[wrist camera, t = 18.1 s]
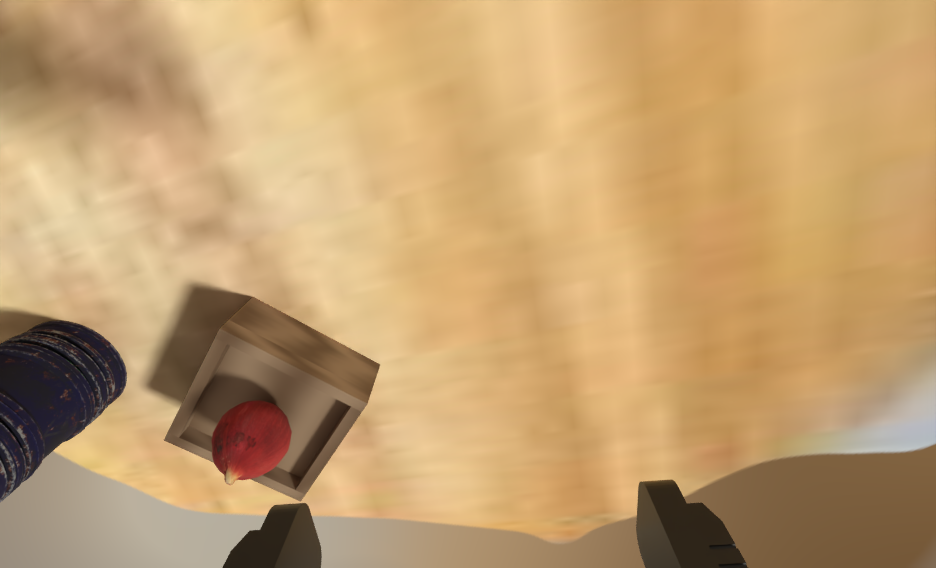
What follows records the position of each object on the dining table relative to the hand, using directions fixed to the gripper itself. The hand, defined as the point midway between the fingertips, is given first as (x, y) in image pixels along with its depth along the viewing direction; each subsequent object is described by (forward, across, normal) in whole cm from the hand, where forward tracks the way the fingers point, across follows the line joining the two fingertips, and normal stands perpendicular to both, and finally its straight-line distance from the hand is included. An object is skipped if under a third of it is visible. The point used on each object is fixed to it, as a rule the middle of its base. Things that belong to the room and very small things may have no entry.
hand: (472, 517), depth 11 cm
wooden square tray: (+31, +19, +15) cm, 39 cm away
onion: (+26, +19, +15) cm, 35 cm away
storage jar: (+30, +39, +11) cm, 51 cm away
